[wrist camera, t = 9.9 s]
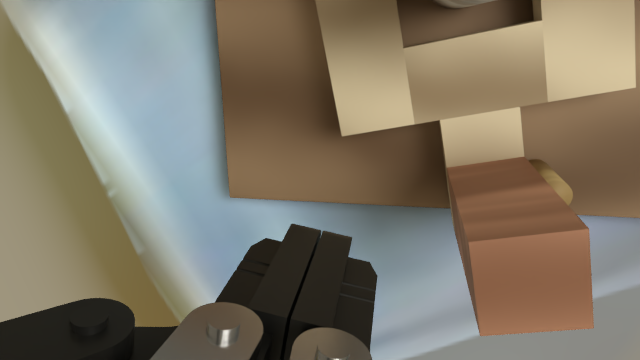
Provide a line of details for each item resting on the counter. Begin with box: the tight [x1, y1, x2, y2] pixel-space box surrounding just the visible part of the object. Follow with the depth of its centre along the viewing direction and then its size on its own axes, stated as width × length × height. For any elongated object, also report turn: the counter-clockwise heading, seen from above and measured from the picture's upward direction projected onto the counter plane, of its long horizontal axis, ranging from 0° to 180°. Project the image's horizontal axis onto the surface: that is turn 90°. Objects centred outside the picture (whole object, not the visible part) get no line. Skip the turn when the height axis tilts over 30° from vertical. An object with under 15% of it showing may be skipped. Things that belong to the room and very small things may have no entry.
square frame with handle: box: [315, 0, 636, 336], centre depth 15 cm, size 16×11×8 cm
